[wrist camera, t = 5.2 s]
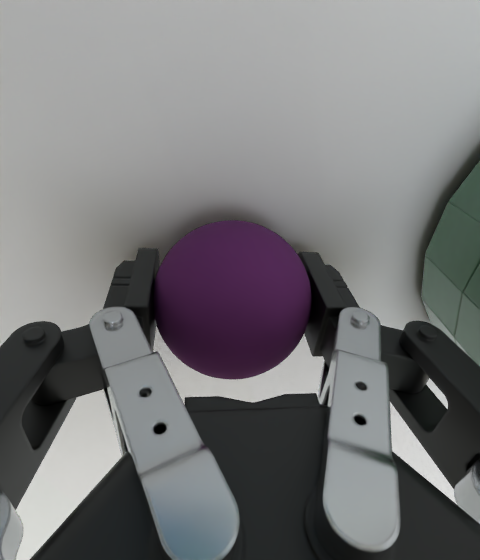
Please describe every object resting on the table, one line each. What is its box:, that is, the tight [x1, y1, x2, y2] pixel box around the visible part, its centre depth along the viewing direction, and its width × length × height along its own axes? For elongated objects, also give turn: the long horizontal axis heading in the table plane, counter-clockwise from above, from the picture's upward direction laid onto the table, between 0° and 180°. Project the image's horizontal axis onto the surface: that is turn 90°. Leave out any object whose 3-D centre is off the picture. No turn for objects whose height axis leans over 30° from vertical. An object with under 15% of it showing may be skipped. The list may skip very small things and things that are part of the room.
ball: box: [153, 220, 311, 379], centre depth 13 cm, size 6×6×6 cm
